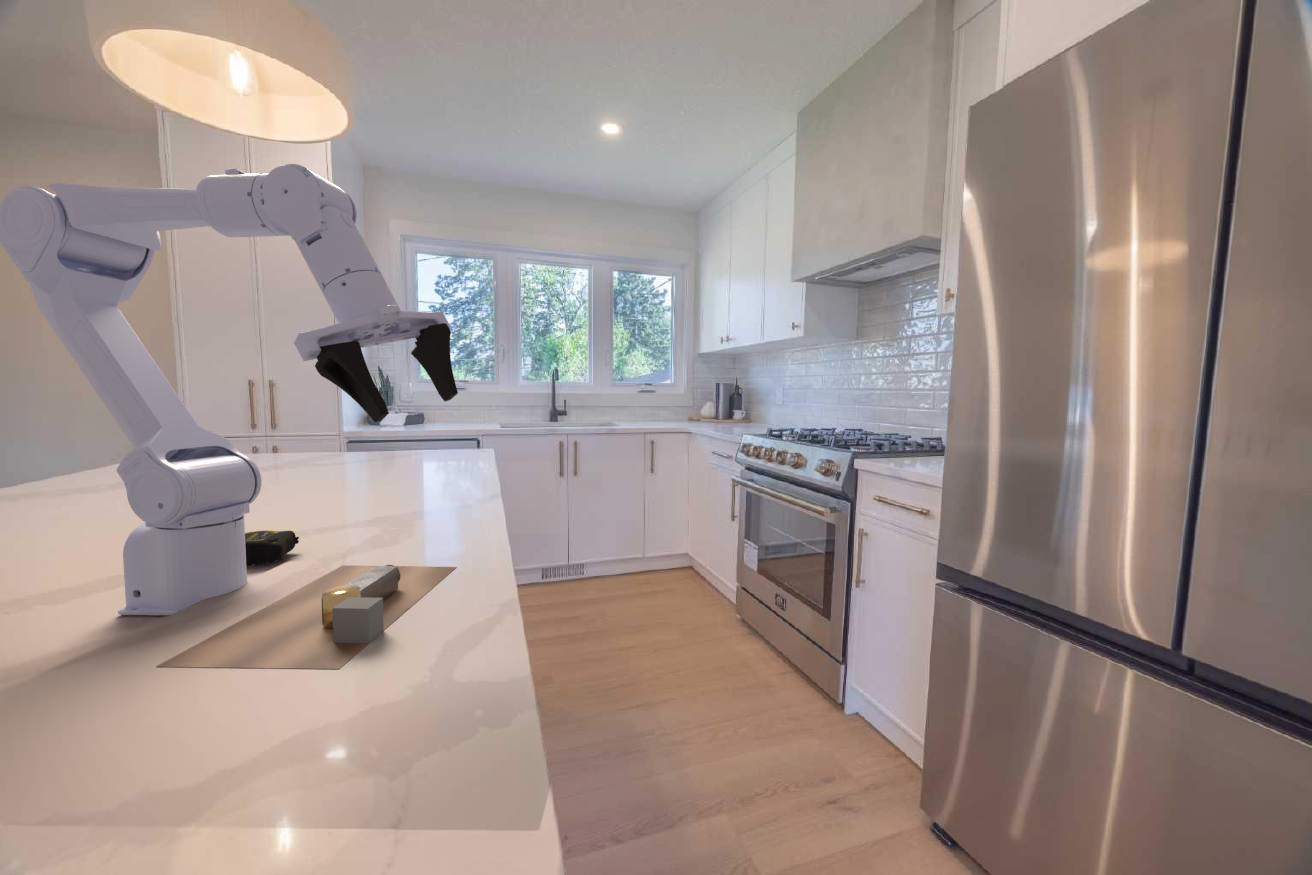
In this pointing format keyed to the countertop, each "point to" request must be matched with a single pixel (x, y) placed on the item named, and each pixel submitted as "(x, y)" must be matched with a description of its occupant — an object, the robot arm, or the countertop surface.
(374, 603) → the block
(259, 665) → the wooden board
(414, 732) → the countertop surface
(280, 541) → the tape measure
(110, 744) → the countertop surface
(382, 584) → the gold-capped grey rod
